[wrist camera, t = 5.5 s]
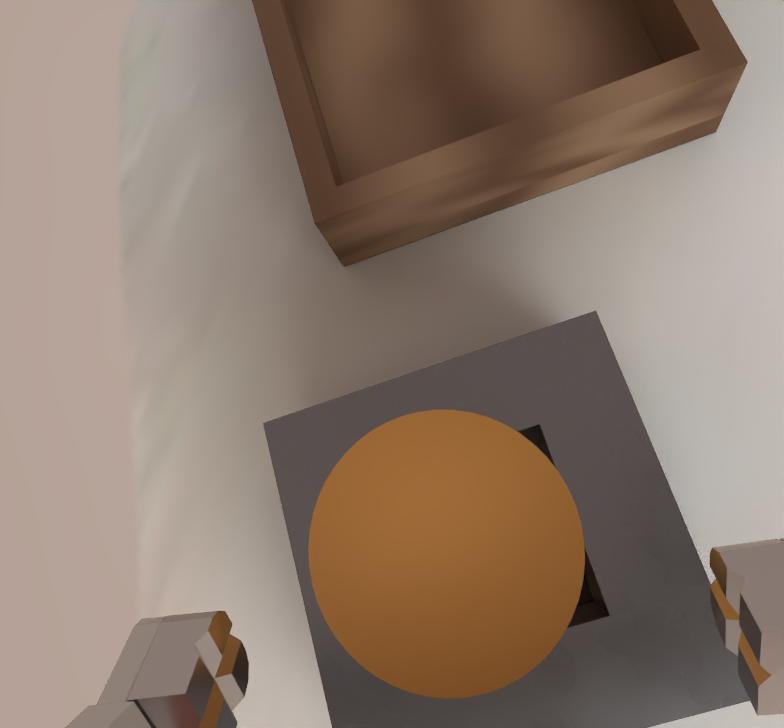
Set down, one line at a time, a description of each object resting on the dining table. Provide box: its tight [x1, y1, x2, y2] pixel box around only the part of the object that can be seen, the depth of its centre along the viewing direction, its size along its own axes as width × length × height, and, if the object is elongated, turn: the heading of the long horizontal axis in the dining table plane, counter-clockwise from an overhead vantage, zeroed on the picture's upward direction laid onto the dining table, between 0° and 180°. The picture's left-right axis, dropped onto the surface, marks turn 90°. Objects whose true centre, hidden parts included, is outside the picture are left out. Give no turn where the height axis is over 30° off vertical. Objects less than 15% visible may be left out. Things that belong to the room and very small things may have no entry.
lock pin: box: [308, 410, 585, 699], centre depth 15 cm, size 4×4×12 cm
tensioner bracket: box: [263, 311, 750, 728], centre depth 19 cm, size 10×10×4 cm
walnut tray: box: [252, 0, 747, 266], centre depth 24 cm, size 14×16×4 cm
